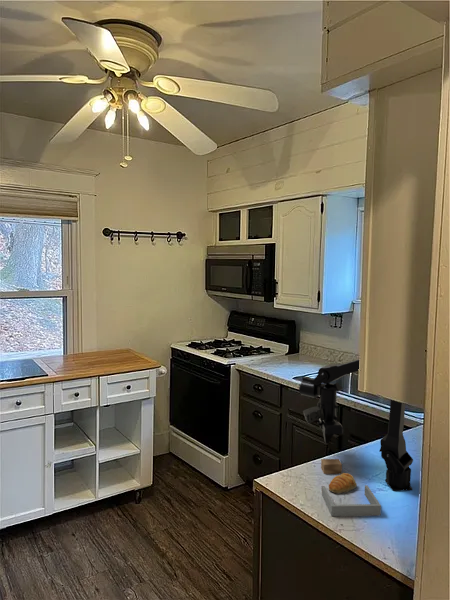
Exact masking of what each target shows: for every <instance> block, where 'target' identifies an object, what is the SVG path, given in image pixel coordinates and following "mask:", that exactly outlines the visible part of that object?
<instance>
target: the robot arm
mask: <svg viewBox="0 0 450 600" xmlns="http://www.w3.org/2000/svg"><path fill="white" fill-rule="evenodd" d="M359 359H360V358H358V359H354V360H352V361H349V362H344V363H343V362H342V363H331V364H327V365H325V366H322V367H320V368H319V369H318V372H317V376H315V377H314V378H312V377H310V376H303V377H302V380H301V382H300V385H299V387H298V392H299V394H300V395H301V396H306V397H310V398H312V399H313V398H314V399H316V398H318V397H319V400H318V402H317V405H316V406H311V407H309V408H307V409H304V410H302V413H303V416H304V419H305V421H306V422H307V424H311V423H312V422H315V421H316V423H317V424H318V426H319V428H320V429H321V430H322V435H323V439H324V443H325V444H329V443H330V442H331V440H332V438H333V436H334V435H335V434H336V435H337V434H338V435H339V434H340V435H341V434H344V427H343V425H342V424H341V423H340V422H339V421H338V416H337V409H339V406H338V403H337V394H338V393H337V392H340V391H342V390H343V389H344V387H342V385H340V384H339V382H336V383H332V382H334V381H337V380H339V379H340V378H342V377H345V376H346V375H350V374H352V373H357V372H359V371H358V369H359ZM405 413H406V403H405V404H403V403H398V402H395V401H392V400H391V399H390V405H389V416H388V428H387V434H386V435H384V436H383V437H382V438H381V439H380V440H379V441H380V447H379V452H380V455H381V456H380V457H381V458H382V459H383V461H384V464H385V466H386V470H385V479H384V481H385V483H386V484H387V485H388V487H389V488H390V489H391V491H413V487H412V486H411V477H412V468H411V466H412V464H413V462H414V459H413V457H412V456H411V455H410V454H409V452H408V451H407V445H406V444H407V443H406V440H405V437H404V427H405V425H404V423H405Z"/></svg>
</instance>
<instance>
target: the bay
mask: <svg viewBox="0 0 450 600" xmlns="http://www.w3.org/2000/svg"><path fill="white" fill-rule="evenodd" d="M363 496H365V498H366V500H367V501H368V503H365V504H364V503H363V504H362V503H361V504H358V503H357V504H356V503H355V504H334V502H333V500H332V497H331V496H330V494H329V492H328V490H327V487H326V486H325V485H322V486H321V497H322V500H323V501H324V503H325V506H326V507H327V509H328V512H329V514H330V516H331V517H369V516H370V517H371V516H379V517H380V516H381V515H382V514H381V513H382V505H381V503H380V502H379V500H378V499H377V498H376V496H375V494H374V493H373V492H372V490H371V488H370V487H369V486H368V485H367V484H365V485H364V495H363Z"/></svg>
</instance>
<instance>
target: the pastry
mask: <svg viewBox="0 0 450 600" xmlns="http://www.w3.org/2000/svg"><path fill="white" fill-rule="evenodd" d="M357 485H358V484H357V482H356V480H355V478H354V476H353V475H352V474H350V473H348V472H347V473H345V472H342V474H337V475H336V476H334V477H333V478H332V479H331V481H330V482H329V484H328V491H330V492H331V493H334V494H342V493H343V492H344V493H348V492H350V491H352V490H354V489H355V488H356V487H357Z"/></svg>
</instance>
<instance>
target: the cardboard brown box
mask: <svg viewBox="0 0 450 600" xmlns="http://www.w3.org/2000/svg"><path fill="white" fill-rule="evenodd" d="M320 463H321V464H320V469H321V471H322V473H323V474H324V475H335V474H337V475H341V474H343V472H342V470H343V469H342V468H343V467H342V465H343V464H342V463H341V461H340V459H339V458H321V461H320Z"/></svg>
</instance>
